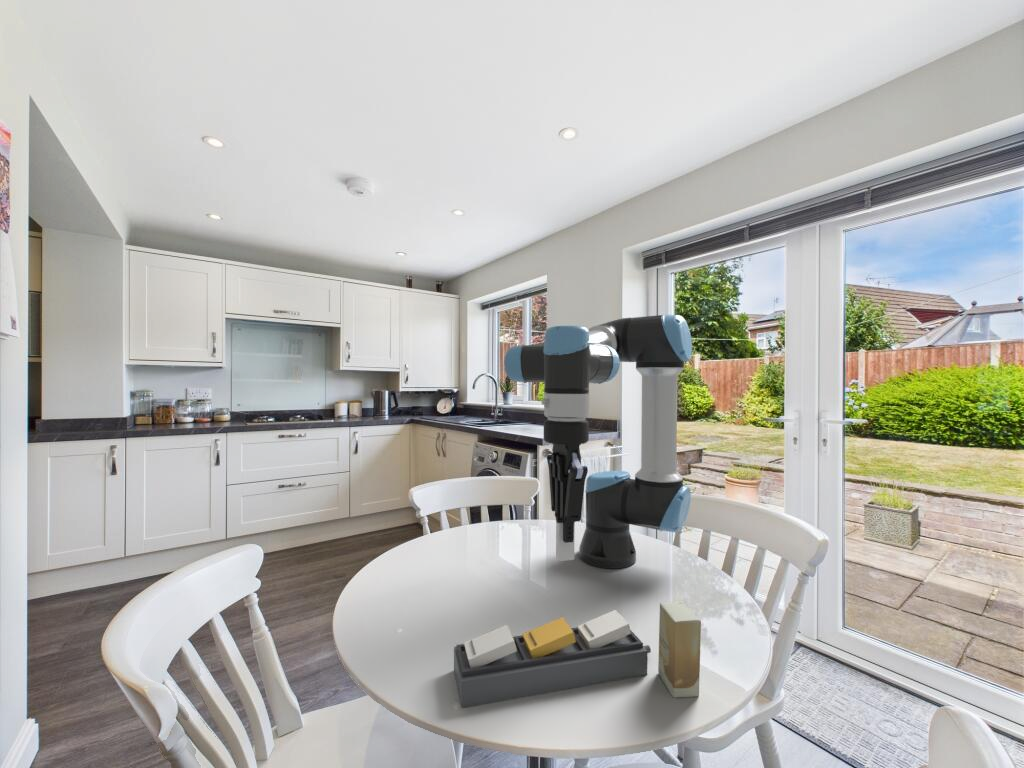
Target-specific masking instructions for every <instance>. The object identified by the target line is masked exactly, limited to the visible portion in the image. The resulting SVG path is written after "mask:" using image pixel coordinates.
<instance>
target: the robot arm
mask: <svg viewBox="0 0 1024 768" xmlns="http://www.w3.org/2000/svg"><path fill="white" fill-rule="evenodd" d="M692 340H693V339H692V336H691V330H690V327H689V325H688V323H687V321H686V319H685V318H684V317H683V316H681V315H679V314H661V315H648V316H636V317H625V318H624V317H623V318H618V319H615V320H610V321H608V322H605V323H602V324H601V323H600V324H597V325H594V326H591V327H590V328H587V327H586V326H581V325H555V326H554V325H553V326H550V327H548V328H547V329H546V330H545V333H544V340H543V342H539V343H535V344H526V345H525V344H521V345H514V346H513V345H512V346H511V347H510V348H509V349H508V350H507V351H506V353H505V356H504V359H503V360H504V361H503V364H504V371H505V374H506V376H507V377H508V379H509V380H511V381H512V382H517V383H518V382H519V383H524V384H526V383H544V387H543V396H544V397H543V398H542V399H541V400H540V402H541V404H542V406H543V415H544V417H546V418H547V419H545V420H544V421H543V440H544V442H546V443H548V444H552V452H551V453H550V454H547V455H546V460H547V467H548V475H549V477H548V478H549V489H550V490H549V491H550V506H551V507H550V508H551V511H552V512H554V517H555V522H556V523H555V525H556V526H555V530H556V533H555V539H556V540H555V558H556V559H557V561H559V562H564V561H565V562H566V561H574V560H575V530H576V529H575V525H576V524H575V523H576V522H581V519H582V511H583V500H584V493H585V529H584V532H583V535H582V537H581V541H580V544H579V550H578V556H579V558H580V560H581V561H583V562H584V563H586V564H589V565H591V566H594V567H598V568H605V569H623V568H628V567H631V566H632V565H634V564H635V563H636V561H637V551H636V547H635V544H634V541H633V538H632V535H631V532H630V525H631V526H638V527H642V528H646V529H652V530H657V531H659V532H670V533H677V532H679V531H681V530H682V528H683V527H684V525H685V523H686V520H687V518H688V515H689V512H690V511H689V510H690V506H691V498H692V497H691V495H692V494H691V488H690V487H689V486H687V485H684V477H683V476H682V475H681V474H680V473H679V472H678V470H677V453H678V452H677V449H678V448H677V447H678V445H677V444H678V440H677V439H678V437H677V435H678V376H679V374H680V373H681V372H682V371H684V369H685V363H687V362H689V361H690V360H691V359H692V355H693V342H692ZM621 362H622V363H624V362H625V363H635V369H636V371H637V372H639V374H640V375H641V445H640V446H641V450H640V452H641V453H640V454H641V456H640V457H641V458H640V459H641V460H640V462H641V465H640V466H641V467H640V469H639V470H638V471H637V472H636V473H635V474H634V479H633V478H631V475H630V472H629V471H625V470H607V471H600V472H594V473H592V474H590V475H588V472H589V471H588V466H587V465H582V456H581V449H580V446H581V445H583V444H584V445H585V444H587V443H588V442H589V439H590V438H589V437H590V435H589V433H590V430H589V429H590V427H589V426H590V425H589V424H590V423H589V421H588V420H586V419H587V418H588V417H589V416H590V389H589V388H590V384H599V385H600V384H604V383H606V382H607V383H608V382H609V381H611V380H613V379H614V378H615V377H616V375H618V372H619V369H620V367H621V366H620V365H621ZM587 475H588V477H587ZM585 482H586V485H585Z"/></svg>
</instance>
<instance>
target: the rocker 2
mask: <svg viewBox="0 0 1024 768" xmlns="http://www.w3.org/2000/svg"><path fill="white" fill-rule="evenodd" d="M577 627H578V631H579V635H580V637H581V638H582V639H583V641H584V642H585V644H586V645H587V647H588V648H589V649H595V648H600V647H602V646H604V645H607V644H609V643H611V642H613V641H616V640H618V639H620V638H622V637H625V636H627V635H629V634H631V631H632V630H631V628H630V623H628V621H627V620H626V619H625V618H624V617H623V615H621V614H620V613H619V612H618V610H616V609H614V610H611V611H609V612H606V613H604V614H602V615H600V616H598V617H595V618H592V619H591V620H590V619H589V620H588V621H585V622H584V623H582V624H579V625H577ZM577 627H576V628H577ZM630 630H631V631H630Z"/></svg>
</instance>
